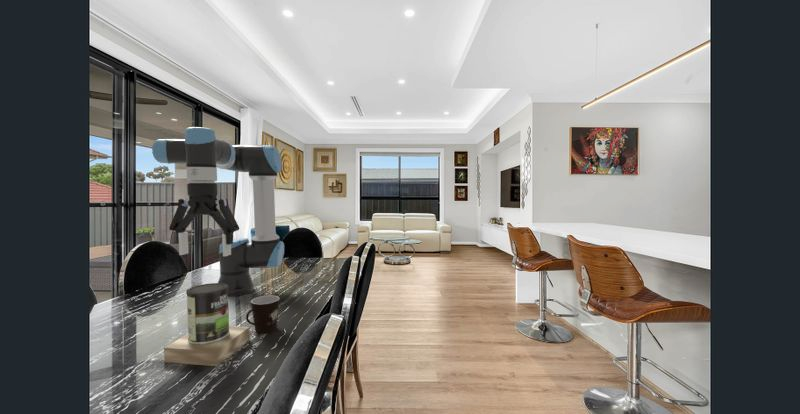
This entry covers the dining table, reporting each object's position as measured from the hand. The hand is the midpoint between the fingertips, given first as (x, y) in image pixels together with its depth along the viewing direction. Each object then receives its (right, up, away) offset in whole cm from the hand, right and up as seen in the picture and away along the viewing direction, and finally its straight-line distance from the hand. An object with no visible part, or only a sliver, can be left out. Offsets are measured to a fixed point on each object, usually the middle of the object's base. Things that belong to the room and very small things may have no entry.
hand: (205, 254), depth 97 cm
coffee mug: (+12, -26, +10) cm, 31 cm away
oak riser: (+3, -27, -3) cm, 27 cm away
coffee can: (+3, -23, -3) cm, 23 cm away
